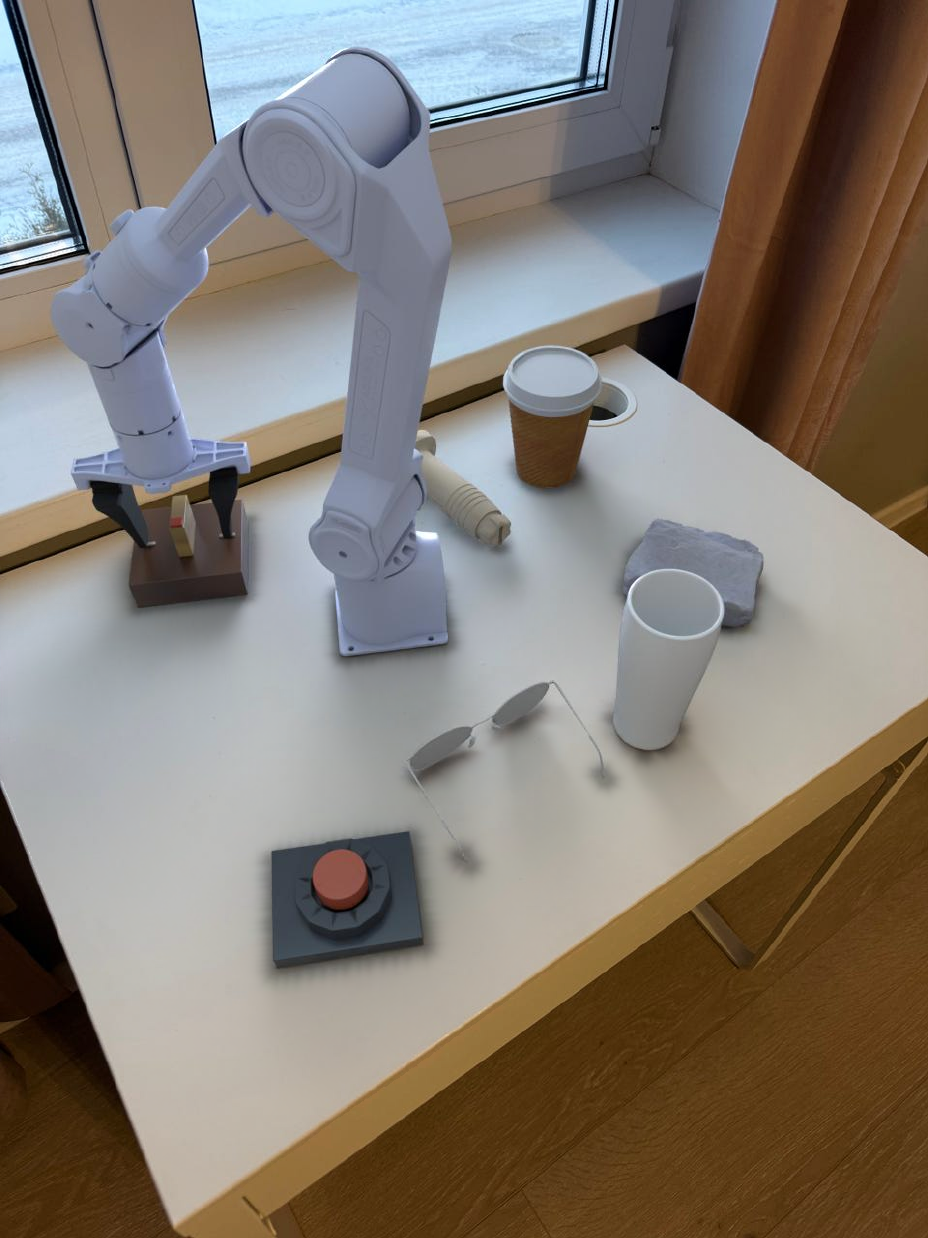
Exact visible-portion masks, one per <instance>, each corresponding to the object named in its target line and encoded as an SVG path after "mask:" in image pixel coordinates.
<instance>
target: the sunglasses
mask: <svg viewBox="0 0 928 1238" xmlns="http://www.w3.org/2000/svg"><path fill="white" fill-rule="evenodd" d="M551 684H553V685H554V686H555V687H556V688H557V690H558V692H559V693H560V695H561V697H563V700H564V701H565V702H566V703H567V705H568V706H569V708H570V710H571V711H572V713H573V714H574V715H575V717H576V718H577V720H578V722H579V723H580V725H581V726H582V728H583V729H584V730H585V732H586V733H587V735H588V738H589V740H591V742H592V744H593V746H594V747H595V749H596V751H597V752H598V755H599V760H600V767H601V769H600V770H601V776H602V778H603V779H604V780H606V775H605V774H606V772H605V768H604V761H603V755H602V752H601V750H600V748H599V746H598V744H597V743H596V741H595V740H594V738H593V736H592V735H591V734H590V733H589V732H588V730H587V728H586V727H585V726H584V723H583V722H582V720H581V718H580V717H579V716H578V714H577V712H576V710H575V709H574V708H573V706H572V704H571V703H570V701H569V700H568V698H567V696H566V695H565V693H564V692H563V690H562V688H561V687H560V685H559V684H558V683H557V681H555V680H553V679H552V680H550V681H539V682H535V683H533V684H531V685H529V686H527V687H524V688H523V689H521V690H520V691H517V692H516V693H515V694H513V695H512V696H510V697H509V698H508V699H506V700H505V701H504V702H503V703H502V704H501V705H500V706H499V707H498V708H497V709H496V711H495V712H494V713H493V714H491V715H489V716H488V717H486V718H485V719H483V720H481V721H478V722H476V723H474V724H473V725H471V726H470V725H468V724H467V725H458V726H455V727H451V728H450V729H447V730H445V731H443V732H440V733H439V734H437V735H435V736H433V737H432V738H430V739H428V740H427V741H425V743H423V744H422V745H421V746H419V748H417V749H416V750H415V752H414V753H413V754H412V755H409V756H408V757H406V758H405V759H404V766H405V767H406V769H407V771H408V772H409V773H410V775H411V776H412V778H413V780H414V781H415V782H416V784H417V785H418V787H419V789H420V790H421V792H422V793H423V795H424V796H425V798H426V799H427V800H428V802H429V803H430V804H431V807H432V808H433V809H434V811H435V812H436V814H437V815H438V817H439V818H440V820H441V823H442V824H443V826H444V827H445V829H446V831H448V833H449V835H450V837H451V838H452V839H453V841H454V842H455V843H456V845H457V846H458V849H459V850H460V852H461V855H462V857H463V859H464V860H465V861H466V862H468V860H467V858H466V856H465V854H464V851H463V850H462V848H461V846H460V843H459V842H458V840H457V838H456V837H455V835H454V834H453V832H452V831H451V829H450V828H449V827H448V825H447V823H446V822H445V820H444V819H443V818H442V817H441V815H440V813H439V812H438V810H437V808H436V807H435V805H434V804H433V801H431V799H430V797H429V796H428V793H427V792H426V790H425V788H423V786H422V784H421V783H420V781H419V780H418V778H417V777H416V775H415V772H413V770H414V771H421V770H425V769H427V768H429V767H432V766H434V765H435V764H438V763H439V762H441V761H442V760H444V759H445V758H447V757H449V756H450V755H451V754H452V753H454V752H455V751H456V750H457V749H458V748H460V747H461V746H462V745H463V744H464V743H466V741H467V740H468V739H469V743H468V745H467V748H468V749H471V748H472V747H473V746H474V745H475V743H476V741H477V738H478V737H477V736H478V735H477V734H475V735H474V736H473V735H472V732H473V728H475V727H477V726H479V725H481V724H484V723H485V722H487V721H489V720H490V719H491V722H492V723H491V724H492V725H491V729H493V730H494V731H497V732H501V731H502V727H501V726H503V725H507V724H509V723H511V722H514V721H516V720H519V719H520V718H521V717H523V716H525V715H526V714H527V713H529V712H530V711H532V710H533V709H534V708H535V707H537V706H538V705H539V704H540V703H541V701H542V700H543V699H544V698H545V696H546V695H547V693H548V691H549V689H550V685H551ZM470 737H471V738H470ZM408 762H409V763H408Z"/></svg>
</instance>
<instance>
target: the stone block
mask: <svg viewBox="0 0 928 1238" xmlns="http://www.w3.org/2000/svg"><path fill="white" fill-rule="evenodd" d="M640 541H641V542H640V543H639V545H638V546H637V547H636V549H635V550H634V551H633V552H632V554H631V556H630V558H629V560H628V561H627V564H626V566H625V569H624V574H623V583H622V585H623V586H622V593H623V595H624V596H625V597H626V598H627V596H628V592H629V590H630V588H631V586H632V585H633V583H634V582H635V581H636V580H637V579H638V578H640V577H641V576H643V575H644V574H647V573H649V572H652V571H655V570H660V569H679V570H684V571H688V572H691V573H694V574H696V575H698V576H700V577H702V578H704V579H705V580H707V581H708V582H709V583H711V584H712V585H713V586H714V587H715V588H716V589H717V591H718V592H719V594H720V595H721V597H722V600H723V603H724V617H723V621H722V625H721V626H724V627H728V628H743V627H745V626H747V625H749V624H750V623H751V622H752V620H753V617H754V615H753V614H754V609H755V601H756V600H755V594H756V588H757V583H758V581H759V579H760V578H761V576H762V573H763V571H764V565H765V563H764V554H763V553H762V552H761V551H759V548H758V546H757V545H755V544H753V542H751V541H750V540H747V539H740V538H736V537H733V536H732V535H730V534H728V533H724V532H718V531H715V530H712V531H711V530H708V531H705V530H704V529H700V528H697V527H693V526H690V525H683V524H680V523H679V522H676V521H672V520H668V519H663V518H656V519H653V520H652V521H651V522H650V524H649V526H648V527H647V529H646V531H645V533H644V535H643V538H642V540H640Z"/></svg>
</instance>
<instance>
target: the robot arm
mask: <svg viewBox="0 0 928 1238" xmlns="http://www.w3.org/2000/svg"><path fill="white" fill-rule="evenodd" d="M430 132H431V112H430V111H429V109H428V108H427V107H426V105H425V103H424V102H423V100H422V99H421V98H420V96H419V95H418V94H417V92H416V91H415V89H414V88H413V86H412V85H411V84H410V82H409V81H408V80H407V78H406V77H405V75H404V74H403V72H402V71H401V70H400V69H399V67H398V66H397V65H396V64H395V63H394V62H393V61H392V60H391V59H390V58H388V57H387V56H385V55H384V54H383V53H381V52H379V51H377V50H375V49H372V48H369V47H365V46H364V47H363V46H350V47H346V48H342V49H341V50H338V51H337V52H336V53H334V54H333V55H332V56H330V57H329V58H328V59H327V60H326V62H325V63H324V65H323V66H322V67H321V68H320V69H318V70H316V71H315V72H313V74H311V75H309V76H307V77H306V78H304V79H303V80H301V81H300V82H299V83H297V84H296V85H294V86H292V87H291V88H290V89H289V90H287V91H286V92H284V93H282V95H280V96H279V97H277V98H275V99H270V100H269V101H267V102H266V103H264V104H261V106H259V107H258V108H257V109H255V110H254V111H253V112H252V114H251V115H250V117H249V118H246V120H244V121H243V122H241V123H240V124H238V125H237V126H236V127H234V128H233V129H232V130H230V131H229V132H228V133H226V134H225V135H223V136H222V137H220V138H219V140H218V141H217V143H216V144H215V145H214V147H212V149H211V150H210V151H209V153H208V154H207V155H206V157H204V159H203V160H202V162H201V163H200V164H199V166H198V167H197V168H196V170H195V171H194V173H193V174H192V175H191V176H190V177H189V178H188V180H187V182H186V183H185V184H183V185H184V186H182V188H181V189H180V190H179V192H178V193H177V194H176V196H174V198H173V199H172V201H171V202H170V204H169V205H168V206H167V207H166V208H164V207H160V206H146V207H141V208H140V209H138V210H136V211H135V212H134V210H132V209H131V208H127V209H126V210H125V211H123V212H122V213H121V214H119V215H118V216H116V217H115V218H114V220H113V221H112V222H111V223H110V224H109V230H110V231H111V232H112V233H113V234H114V235H115V236H114V237H113V238H112V239H111V241H110V242H109V243H108V244H107V245H106V246H105V248H104V249H103V250H102V251H101V250H98V249H96V250H95V251H93V252H92V253H90V254H89V255H88V256H87V257H86V258H85V259H84V260H83V263H82V264H83V267H84V269H86V271H85V274H84V275H83V276H82V277H81V278H79V279H78V280H77V281H75V282H74V283H72V284H71V285H70V286H69V287H65V288H63V289H59V291H56V292H55V293H54V294H53V301H52V302H51V304H50V309H49V314H50V315H49V316H50V320H51V324H52V327H53V328H54V331H55V332H56V334H57V336H58V338H59V339H60V340H61V341H62V343H63V344H64V346H66V347H67V349H68V350H70V352H72V353H73V355H75V356H76V357H78V358H79V359H81V360H82V361H84V362H85V363H86V365H87V369H88V370H89V374H90V376H91V378H92V381H93V383H94V384H93V385H94V387H95V389H96V392H97V394H98V397H99V400H100V402H101V405H102V407H103V410H104V412H105V416H106V418H107V420H108V424H109V426H110V428H111V431H112V434H113V435H114V440H115V441H116V444H117V448H113V449H111V450H107V451H104V452H100V453H97V454H94V455H90V456H85V457H80V458H79V457H78V458H74V459H73V461H72V465H71V470H70V475H71V478H72V479H73V483H74V484H75V486H76V489H77V491H87V490H91V493H92V498H91V503H92V505H93V508H94V509H95V510H96V511H97V512H99V513H101V514H103V515H105V516H107V518H110V519H111V520H112V521H114V523H116V524H117V525H119V527H121V529H123V530H124V531H125V532H126V533H127V535H128V536H129V537H130V538H131V539H132V540H133V542H134V541H135V542H136V544H137V545H138V546H139V548H146V547H147V543H148V535H149V532H148V528H147V524H146V521H145V519H144V517H143V514H142V512H141V510H142V509H141V507H140V505H139V503H138V500H137V496H136V493H135V490H134V486H137V487H143V488H144V491H145V493H146V494H147V495H157V494H166V493H170V491H171V490H172V486H173V485H174V484H177V483H181V482H185V481H186V480H190V479H193V478H195V477H199V476H202V475H205V474H209V479H208V488H207V489H208V490H207V492H208V497H209V498H210V500H211V503H213V504H214V507H215V509H216V512H217V514H218V517H219V522H220V527H221V531H222V535H223V537H224V539H229V538H232V518H231V512H232V507H233V504H234V501H235V500H236V498H237V495H238V491H239V483H240V482H239V480H240V478H239V477H240V475H243V474H250V473H251V456H250V452H249V448H248V444H247V441H238V442H237V441H236V442H235V441H233V442H231V441H220V440H211V439H203V438H197V437H190V434H189V430H188V427H187V423H186V420H185V417H184V413H183V410H182V407H181V404H180V401H179V396H178V394H177V391H176V388H175V387H176V386H175V384H174V381H173V377H172V373H171V370H170V366H169V364H168V361H167V357H166V353H165V347H166V345H167V343H168V342H167V338H166V335H165V331H164V328H165V324H166V323H167V321H168V318H169V315H170V314H171V313H172V312H173V311H174V310H175V309H176V308H177V307H178V306H179V305H180V304H181V303H183V302H184V300H185V299H187V298H188V297H189V296H190V295H191V294H192V293H193V292H194V291H195V290H196V289H197V288H198V287H199V286H200V285H201V284H203V282H204V281H205V279H206V277H207V276H208V272H209V268H210V267H209V266H210V265H209V264H210V263H209V255H208V251H207V247H208V246H210V245H211V244H212V243H213V242H214V241H215V240H216V239H217V238H218V237H219V236H220V235H221V234H222V233H223V232H224V231H226V230H227V229H228V228H229V227H230V226H231V225H232V224H233V223H234V222H235V221H237V219H239V218H240V217H241V216H242V215H243V214H244V213H245V212H246V211H248V209H249V208H250V207H252V208H253V210H254V211H255V212H256V213H257V214H258V215H259V216H260V217H262V218H269V217H270V216H271V215H272V214H273V213H276V214H277V215H278V216H279V217H280V218H281V219H282V220H284V221H285V222H287V224H289V225H290V226H291V227H292V228H294V229H295V230H296V231H297V232H298V233H300V234H301V235H302V236H303V237H305V238H306V240H307V239H308V240H309V241H310V242H311V243H312V244H314V246H316V247H317V248H318V249H320V250H321V251H322V252H324V253H325V254H326V255H327V256H328V257H330V258H331V259H332V260H333V261H335V262H336V263H337V264H338V265H340V266H341V267H342V268H343V269H345V270H346V271H347V272H349V273H356V274H357V275H358V286H357V296H356V307H355V315H354V323H353V324H354V326H353V334H352V335H353V336H352V344H351V352H350V353H351V354H350V363H349V372H348V383H347V392H346V401H345V402H346V404H345V413H344V421H343V422H344V423H343V432H342V439H341V441H342V442H341V450H340V460H339V465H338V467H337V470H336V473H335V475H334V477H333V479H332V482H331V484H330V486H329V488H328V491H327V493H326V496H325V498H324V500H323V503H322V512H321V516H320V517H319V518H318V519H317V520H316V521H315V522H314V523H313V524H312V525H311V527H310V529H309V531H308V543H309V547H310V549H311V551H312V552H313V555H314V556H315V557H316V559H317V560H318V562H319V563H320V564H321V565H322V566H323V567H324V568H325V569H326V570H328V571H329V572H331V574H333V577H334V583H335V590H334V599H335V609H336V610H335V612H336V623H337V635H338V645H339V646H338V648H339V653H340V655H341V656H342V657H352V656H360V655H367V654H375V653H382V652H383V653H384V652H392V651H399V650H406V649H415V648H422V647H430V646H439V645H444V644H447V643H448V642H449V634H448V622H447V621H448V620H447V619H448V617H447V604H448V594H447V587H446V578H445V569H444V560H443V554H442V549H441V548H442V547H441V541H440V538H439V534H438V532H433V531H423V530H416V515H417V513H418V512H419V511H421V509H422V508H423V506H424V505H425V503H426V501H427V498H428V496H427V487H426V483H425V481H424V478H423V475H422V461H423V455H422V454H421V453H420V452H419V451H417V450H416V449H415V448H414V447H415V442H416V437H417V432H418V430H419V426H420V421H421V415H422V411H423V406H424V405H423V404H424V401H425V400H424V399H425V395H426V390H427V384H428V380H429V373H430V368H431V364H432V363H431V362H432V358H433V352H434V348H435V343H436V337H437V331H438V327H439V322H440V316H441V310H442V307H443V306H442V305H443V300H444V295H445V290H446V284H447V279H448V274H449V270H450V269H449V268H450V264H451V258H452V251H453V250H452V249H453V239H452V235H451V230H450V226H449V222H448V218H447V215H446V211H445V207H444V204H443V199H442V196H441V192H440V188H439V184H438V182H437V177H436V174H435V170H434V166H433V161H432V158H431V155H430V134H431V133H430Z"/></svg>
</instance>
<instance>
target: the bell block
mask: <svg viewBox="0 0 928 1238" xmlns="http://www.w3.org/2000/svg"><path fill="white" fill-rule="evenodd" d="M341 849H343V850H349V851H352V852H354V853H356V854H358V855H359V856H360V857H361V858H362V860H363V861H364V863H365V866H366V870H367V875H368V881H369V884H368V890H367V892H366V894H365V896H364V898H363V899H362V900H361V901H360V902H359V903H358V904H357V905H355V906H353V907H351V908H349V909H345V910H335V909H331V908H329V907H327V906H325V905H324V904H323V903H322V902H321V901H320V900H319V898H318V896H317V893H316V890H315V887H314V883H313V871H314V868H315V866H316V864H317V862H318V861H319V860H320V859H321V858H322V857H323V856H324V855H326V854H327V853H329V852H331V851H334V850H341ZM270 855H271V856H270V857H271V859H270V860H271V920H272V922H271V924H272V962H273V963H274V966H275V968H276V969H281V968H288V967H294V966H301V965H306V964H312V963H319V962H320V963H321V962H326V961H332V960H338V959H344V958H351V957H352V958H353V957H358V956H363V955H369V954H376V953H377V954H378V953H383V952H388V951H395V950H401V949H408V948H414V947H420V946H424V945H425V943H424V935H423V928H422V920H421V911H420V904H419V895H418V888H417V880H416V873H415V872H416V871H415V865H414V857H413V856H414V855H413V849H412V841H411V833H410V831H409V830H407V831H406V830H405V831H399V832H393V833H385V834H379V835H373V836H372V835H371V836H365V837H358V838H352V837H351V838H342V839H336V840H329V841H326V842H324V843H317V844H311V845H304V846H297V847H291V848H283V849H276V850H271V853H270Z"/></svg>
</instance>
